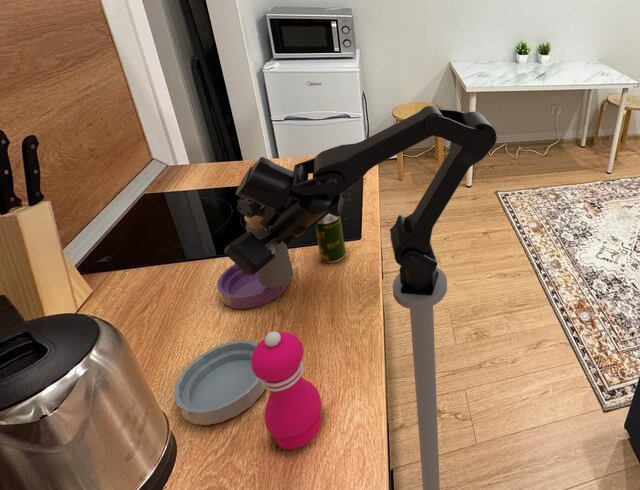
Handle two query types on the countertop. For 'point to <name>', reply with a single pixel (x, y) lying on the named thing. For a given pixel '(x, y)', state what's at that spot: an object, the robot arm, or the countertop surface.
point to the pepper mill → (287, 390)
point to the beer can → (330, 239)
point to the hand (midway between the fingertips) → (263, 247)
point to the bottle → (278, 267)
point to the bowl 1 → (245, 289)
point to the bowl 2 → (218, 384)
